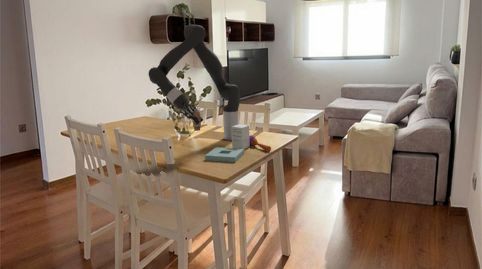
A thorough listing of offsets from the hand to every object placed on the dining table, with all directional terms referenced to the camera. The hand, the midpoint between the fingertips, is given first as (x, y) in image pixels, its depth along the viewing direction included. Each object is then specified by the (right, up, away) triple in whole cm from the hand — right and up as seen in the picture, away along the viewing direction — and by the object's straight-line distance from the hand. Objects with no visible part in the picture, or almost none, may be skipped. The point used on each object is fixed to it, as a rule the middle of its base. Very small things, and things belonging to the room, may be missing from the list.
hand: (200, 122), depth 201 cm
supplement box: (+21, -14, +17) cm, 31 cm away
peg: (-2, -4, +1) cm, 5 cm away
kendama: (+31, -14, +16) cm, 37 cm away
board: (+13, -18, 0) cm, 22 cm away
